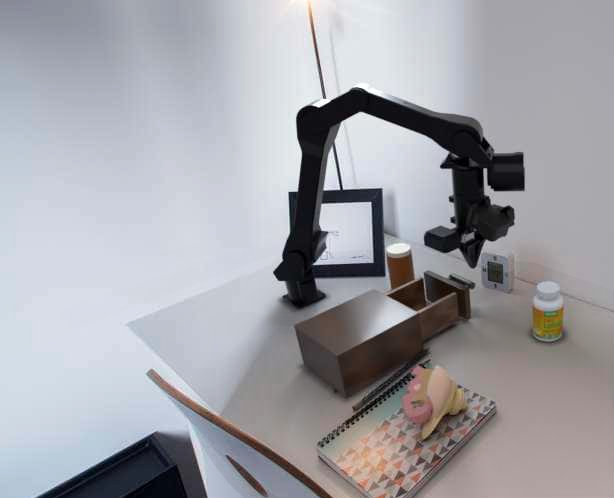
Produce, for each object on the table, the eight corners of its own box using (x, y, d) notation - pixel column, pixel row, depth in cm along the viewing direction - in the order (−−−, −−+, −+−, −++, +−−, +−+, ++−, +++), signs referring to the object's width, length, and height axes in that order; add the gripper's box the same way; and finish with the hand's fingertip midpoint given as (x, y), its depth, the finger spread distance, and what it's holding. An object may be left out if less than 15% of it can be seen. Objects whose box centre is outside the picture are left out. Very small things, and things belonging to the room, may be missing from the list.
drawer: (446, 290, 108) (443, 262, 105) (486, 308, 101) (485, 280, 98) (370, 328, 96) (365, 299, 93) (410, 353, 90) (406, 321, 86)
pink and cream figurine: (459, 390, 83) (487, 376, 75) (442, 453, 78) (470, 445, 70) (406, 369, 80) (429, 352, 72) (384, 433, 75) (407, 422, 67)
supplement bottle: (542, 345, 92) (543, 297, 87) (526, 330, 96) (526, 284, 91) (568, 336, 94) (570, 289, 89) (551, 322, 98) (553, 276, 93)
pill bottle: (386, 294, 109) (380, 250, 104) (402, 283, 113) (396, 241, 108) (405, 300, 107) (399, 255, 102) (421, 289, 111) (416, 245, 106)
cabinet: (380, 326, 99) (373, 288, 95) (423, 352, 91) (419, 312, 87) (304, 365, 89) (293, 325, 85) (346, 398, 81) (336, 356, 77)
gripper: (462, 216, 85) (467, 299, 93) (535, 187, 97) (534, 263, 105) (417, 201, 92) (426, 280, 99) (491, 175, 104) (493, 247, 111)
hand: (472, 267), depth 103 cm, fingers closed
